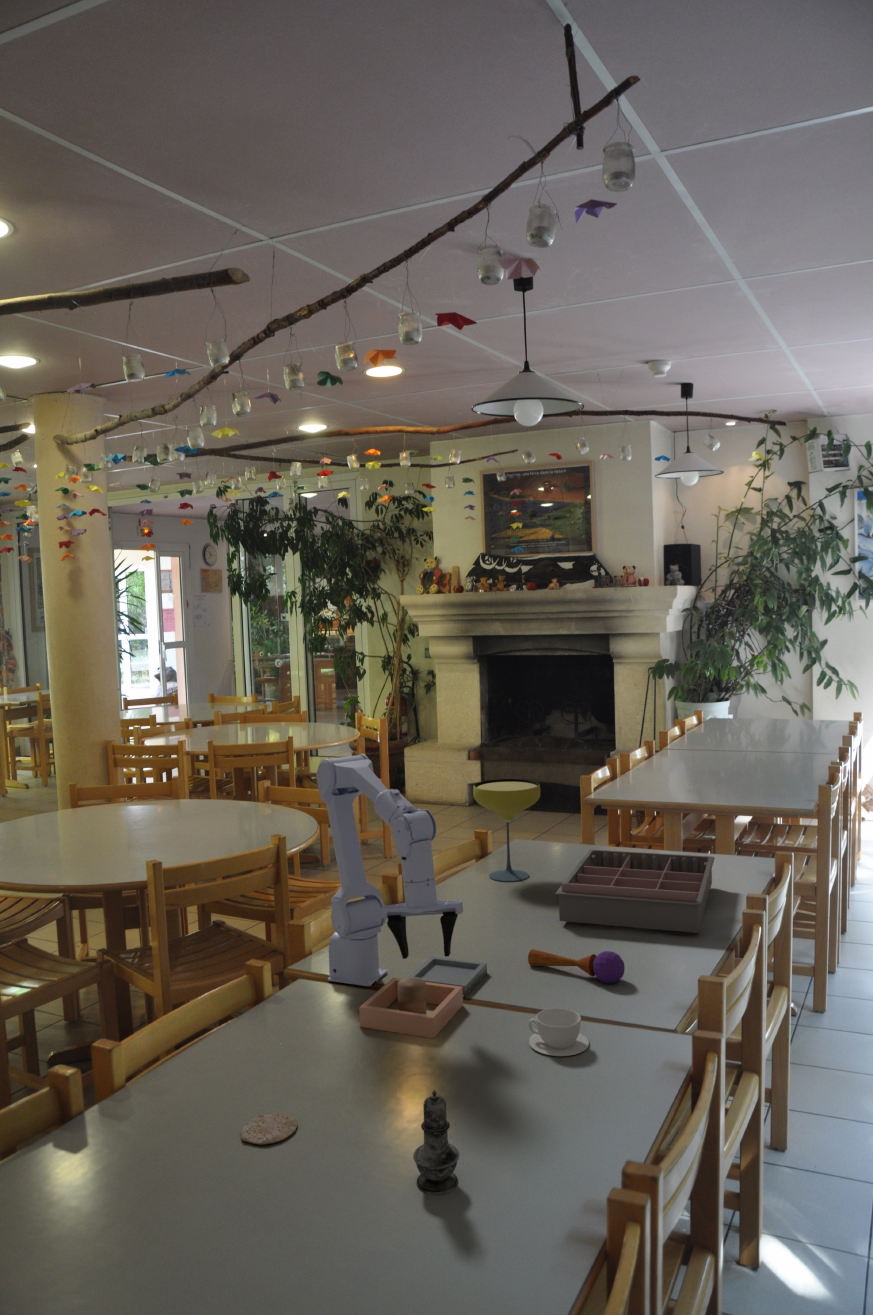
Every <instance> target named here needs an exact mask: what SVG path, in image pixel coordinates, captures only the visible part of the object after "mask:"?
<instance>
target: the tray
mask: <svg viewBox="0 0 873 1315" xmlns="http://www.w3.org/2000/svg"><path fill="white" fill-rule="evenodd" d="M487 973H488V964H487V962H483V961H482V962H480V961H472V960H465V959H456V958H448V957H440V956H433V955H432V956H430V957H428V959H426V961H424V962H423V963H422V964H421V965H420V966H419V967H418V968H416V969H415V971H413V972H412V973H411V974H410V975H409V976H407V978H419V979H422V980H424V981H425V982H430V983H438V984H445V985H453V986H460V987H462V989H463V995H464V996H463V997H467V996H468V995H469V993H470V992H471V991H472V990H473V989H474V988H475V987H476V986H477V985H478V983H480V981H481V980H482V979H483V978H484V977H485V976H486V975H487ZM485 974H486V975H485ZM484 975H485V976H484ZM483 976H484V977H483ZM482 977H483V978H482ZM481 978H482V979H481ZM480 979H481V980H480ZM477 982H478V983H477ZM475 985H476V986H475ZM474 986H475V987H474ZM473 987H474V988H473ZM472 988H473V989H472ZM471 989H472V990H471ZM470 990H471V991H470ZM469 991H470V992H469Z"/></svg>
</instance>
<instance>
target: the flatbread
mask: <svg viewBox="0 0 873 1315" xmlns="http://www.w3.org/2000/svg"><path fill="white" fill-rule="evenodd" d="M298 1124H299V1123H298V1120H297V1119H296V1118H294V1117H293V1116H291V1115H288V1114H285V1113H282V1112H276V1113H267V1114H266V1113H265V1114H262V1115H257V1116H255V1117H254V1118H252V1119H251V1120H250V1121H248V1122H247V1123H246V1124H245V1125H243V1127H242V1128H241V1130H240V1136H241V1141H242V1142H245V1143H250V1144H253V1145H260V1146H261V1145H262V1146H265V1145H271V1144H275V1143H279V1142H282V1141H284V1140H285V1139H287V1138H289V1137H290V1136H291V1135H292V1134H294V1133H295V1132H296V1130H297V1128H298Z"/></svg>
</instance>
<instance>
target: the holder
mask: <svg viewBox="0 0 873 1315" xmlns="http://www.w3.org/2000/svg"><path fill="white" fill-rule="evenodd" d="M403 979H404V978H399V977H392V978H391V979H390V980H389V981H387V982H386V983H385V984H384V985H383V986H381V987H380V989H378V990H377V991H376V992H375V993H374V994H373V995H372V996H371V997H369V998H368V999H367V1000H365V1002H364V1003H362V1004H361V1005H360V1006H359V1008H358V1011H359V1013H358V1014H359V1027H360V1028H365V1029H373V1030H376V1031H377V1030H378V1031H384V1032H390V1033H396V1032H397V1034H403V1035H404V1034H405V1035H410V1036H416V1037H422V1038H427V1039H428V1038H430V1039H434V1038H435V1037H437V1035H438V1034H439V1033H440V1032H441V1031H442V1029H444V1028H445V1026H446V1025H447V1024H448V1021H449V1020H450V1021H451V1020H452V1018H453V1017H454V1016H456V1014H457V1013H458V1012H459V1011H460V1009H462V1007H463V1006H464V1001H463V1000H464V999H463V998H464V996H463V989H462V987H460V986H453V985H445V984H438V983H430V982H425V984H426V1004H431V1005H432V1004H433V1005H438V1004H439V1005H438V1006H436V1008H435V1009H434V1010H433V1011H432V1012H431V1013H430V1014H428V1013H426V1014H420V1013H413V1012H406V1011H399V1010H398V1009H393V1008H388V1007H389V1006H390V1005H391V1004H392V1003H393V1002H394V1001H395V1000H398V982H399V981H401V980H403ZM461 1006H462V1007H461ZM458 1010H459V1011H458ZM457 1011H458V1012H457ZM456 1012H457V1013H456ZM455 1013H456V1014H455ZM450 1021H449V1022H450ZM440 1030H441V1031H440Z"/></svg>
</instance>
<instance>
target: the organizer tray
mask: <svg viewBox="0 0 873 1315" xmlns="http://www.w3.org/2000/svg"><path fill="white" fill-rule="evenodd" d="M714 861H715V856H712V855H711V856H709V855H692V854H691V855H690V854H677V853H676V854H675V853H659V852H657V853H654V852H644V851H643V852H640V851H625V850H623V851H622V850H608V849H607V850H605V849H589V850H588V852H586V854H585V855H584V856H583V858H582V859H581V860H580V861H579V862H578V864H576V866H575V867H574V869H573V870H572V871H571V873H570V874H568V877H567V878H566V879H565V880H564V882H562V883H561V885H560V887H559V888H558V889H557V891H556V892H555V893H554V894H555V895H557V896H558V909H559V910H558V912H559V913H558V914H559V922H567V923H569V922H570V923H579V924H592V925H604V926H613V927H628V928H639V929H640V928H641V929H650V930H660V931H661V930H662V931H672V932H673V931H674V932H685V933H694V934H695V933H698V934H699V933H700V929H701V925H702V921H703V918H704V914H705V911H706V907H707V903H708V899H709V896H710V893H711V892H710V891H711V888H712V885H713V876H712V874H713V873H712V871H713V870H712V868H713V866H714Z"/></svg>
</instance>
